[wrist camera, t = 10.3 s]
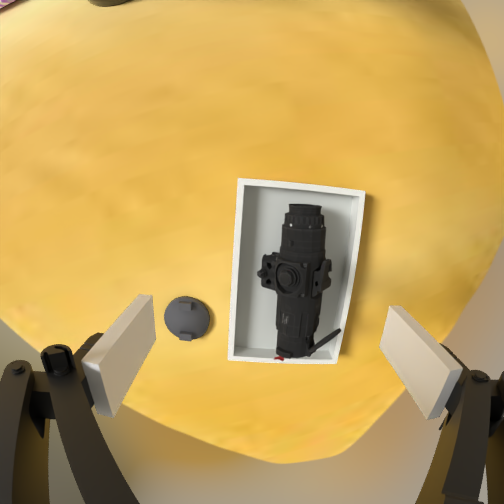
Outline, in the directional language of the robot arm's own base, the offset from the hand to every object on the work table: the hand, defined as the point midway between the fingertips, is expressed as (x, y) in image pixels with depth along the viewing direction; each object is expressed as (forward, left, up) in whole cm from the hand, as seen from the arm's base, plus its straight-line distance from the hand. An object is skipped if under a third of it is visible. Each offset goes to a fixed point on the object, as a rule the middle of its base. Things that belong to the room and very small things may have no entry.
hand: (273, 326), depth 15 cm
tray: (+3, +4, -21) cm, 22 cm away
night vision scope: (+3, +4, -21) cm, 22 cm away
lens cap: (+10, -9, -22) cm, 26 cm away
